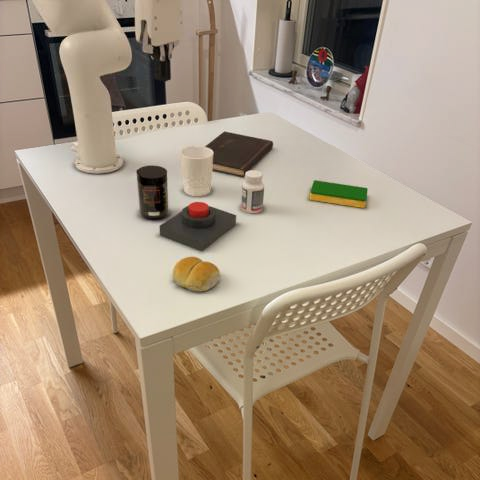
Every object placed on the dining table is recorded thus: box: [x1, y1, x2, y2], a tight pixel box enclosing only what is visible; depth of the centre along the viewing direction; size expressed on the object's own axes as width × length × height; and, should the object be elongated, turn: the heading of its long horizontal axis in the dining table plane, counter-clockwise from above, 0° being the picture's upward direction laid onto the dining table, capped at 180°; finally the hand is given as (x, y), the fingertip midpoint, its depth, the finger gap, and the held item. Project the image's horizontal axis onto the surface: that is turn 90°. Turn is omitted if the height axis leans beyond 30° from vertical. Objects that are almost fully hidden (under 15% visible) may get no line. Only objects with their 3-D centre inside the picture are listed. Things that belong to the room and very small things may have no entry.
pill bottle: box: [240, 169, 265, 214], centre depth 121 cm, size 5×5×9 cm
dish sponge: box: [309, 179, 368, 209], centre depth 130 cm, size 7×14×2 cm, turn 76°
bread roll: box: [172, 256, 221, 292], centre depth 99 cm, size 8×9×4 cm
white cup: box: [180, 145, 214, 197], centre depth 127 cm, size 8×8×10 cm
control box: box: [159, 205, 237, 252], centre depth 114 cm, size 11×14×4 cm
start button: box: [188, 201, 210, 218], centre depth 112 cm, size 4×4×2 cm
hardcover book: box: [204, 131, 274, 178], centre depth 147 cm, size 16×23×2 cm
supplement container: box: [135, 165, 170, 221], centre depth 116 cm, size 7×7×10 cm
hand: (162, 79), depth 110 cm, fingers closed
